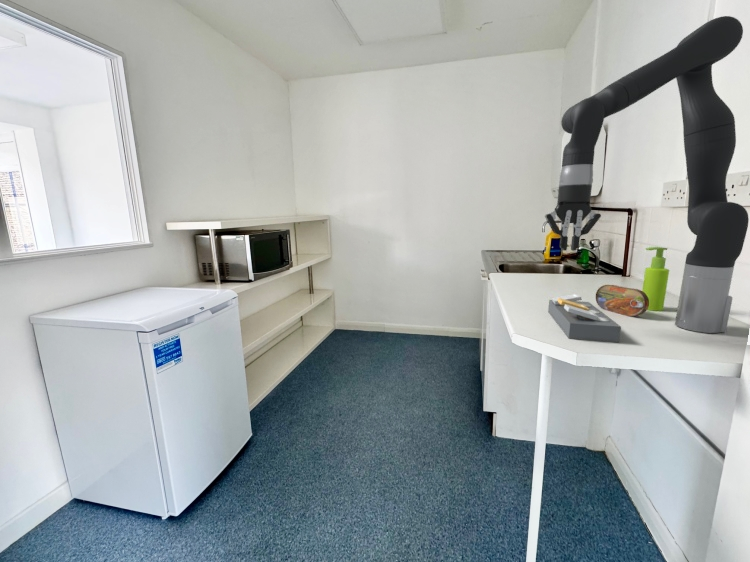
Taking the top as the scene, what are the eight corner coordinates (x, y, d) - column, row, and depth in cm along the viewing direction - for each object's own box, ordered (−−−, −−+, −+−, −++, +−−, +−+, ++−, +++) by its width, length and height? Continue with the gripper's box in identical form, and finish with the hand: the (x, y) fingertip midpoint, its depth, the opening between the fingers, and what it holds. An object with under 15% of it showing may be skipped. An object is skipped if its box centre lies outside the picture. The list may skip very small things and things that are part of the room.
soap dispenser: (632, 306, 114) (640, 246, 110) (653, 306, 114) (662, 246, 110) (645, 311, 109) (654, 248, 105) (667, 311, 108) (678, 248, 104)
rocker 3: (591, 315, 90) (593, 312, 90) (596, 320, 86) (598, 316, 86) (563, 307, 91) (565, 303, 91) (567, 311, 87) (569, 307, 87)
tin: (593, 307, 114) (596, 282, 112) (600, 306, 115) (603, 281, 113) (641, 319, 100) (645, 291, 99) (648, 318, 101) (653, 291, 100)
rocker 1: (577, 296, 103) (577, 293, 102) (581, 300, 99) (581, 296, 99) (552, 301, 105) (551, 297, 105) (555, 304, 101) (554, 301, 101)
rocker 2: (583, 308, 96) (584, 305, 96) (587, 312, 93) (589, 309, 92) (557, 301, 98) (558, 297, 98) (560, 304, 94) (562, 301, 94)
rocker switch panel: (587, 314, 106) (588, 299, 105) (618, 342, 83) (621, 323, 82) (548, 312, 108) (549, 297, 108) (568, 338, 86) (570, 320, 85)
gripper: (599, 184, 91) (592, 249, 95) (543, 186, 95) (538, 248, 98) (610, 182, 84) (602, 252, 87) (549, 183, 88) (543, 251, 91)
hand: (568, 250), depth 93 cm, fingers closed
